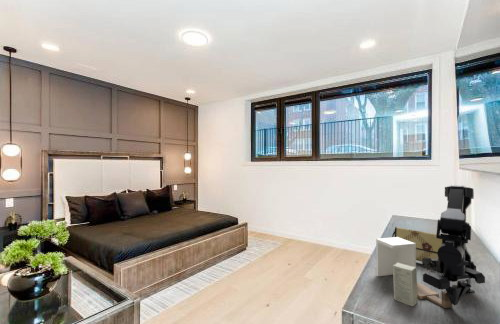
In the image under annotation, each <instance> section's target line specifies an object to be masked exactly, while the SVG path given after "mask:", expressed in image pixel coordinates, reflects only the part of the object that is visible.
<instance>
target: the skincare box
mask: <svg viewBox="0 0 500 324" xmlns="http://www.w3.org/2000/svg"><path fill="white" fill-rule="evenodd" d="M392 277H393V278H392V280H393V300H395V301H398V302H400V303H403V304H405V305H407V306H411V307H414V306H416V304H417V303H418V301H419V300H418V297H417V283H418V281H417V280H418V278H417V266H416V267H413V266H409V265H406V264H402V263H398V262H397V263H396V264H394V265H393V275H392Z"/></svg>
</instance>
